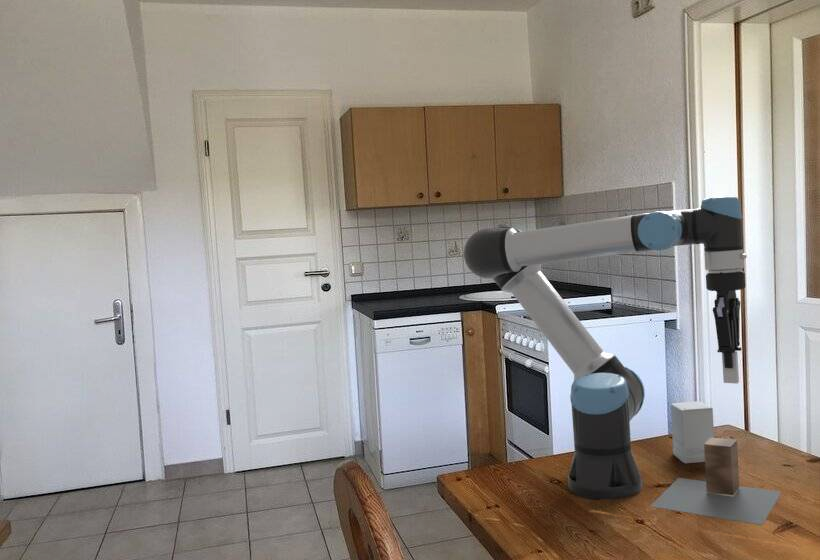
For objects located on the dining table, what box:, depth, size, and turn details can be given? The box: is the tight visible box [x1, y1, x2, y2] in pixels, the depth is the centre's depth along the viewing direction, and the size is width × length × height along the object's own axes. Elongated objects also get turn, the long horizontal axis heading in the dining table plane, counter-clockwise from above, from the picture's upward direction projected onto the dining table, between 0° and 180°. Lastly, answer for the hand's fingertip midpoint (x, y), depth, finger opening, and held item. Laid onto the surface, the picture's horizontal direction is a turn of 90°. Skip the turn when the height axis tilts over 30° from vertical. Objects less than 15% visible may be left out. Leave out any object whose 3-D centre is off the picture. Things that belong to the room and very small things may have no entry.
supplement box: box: [670, 400, 715, 464], centre depth 166 cm, size 7×7×13 cm
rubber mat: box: [649, 477, 783, 526], centre depth 141 cm, size 20×18×1 cm
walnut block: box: [704, 437, 740, 497], centre depth 144 cm, size 5×5×10 cm
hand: (731, 382), depth 151 cm, fingers closed
